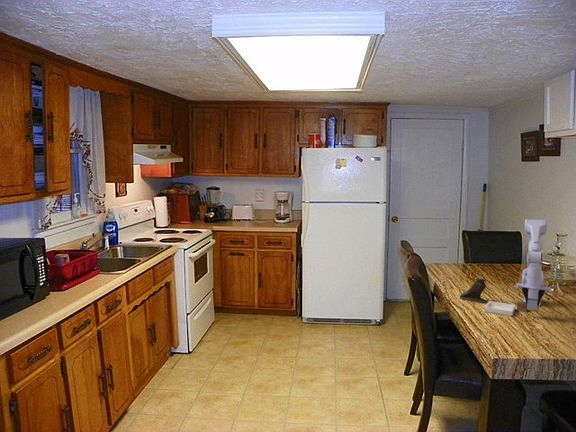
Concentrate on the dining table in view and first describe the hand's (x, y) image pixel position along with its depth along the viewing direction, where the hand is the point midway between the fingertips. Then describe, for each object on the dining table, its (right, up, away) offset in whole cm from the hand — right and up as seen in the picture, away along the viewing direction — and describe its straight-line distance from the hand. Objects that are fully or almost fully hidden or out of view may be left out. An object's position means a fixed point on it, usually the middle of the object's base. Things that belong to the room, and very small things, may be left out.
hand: (532, 304), depth 208 cm
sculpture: (-17, -3, +28) cm, 33 cm away
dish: (-11, -5, +10) cm, 15 cm away
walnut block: (+1, -5, +11) cm, 12 cm away
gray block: (0, -2, 0) cm, 2 cm away
